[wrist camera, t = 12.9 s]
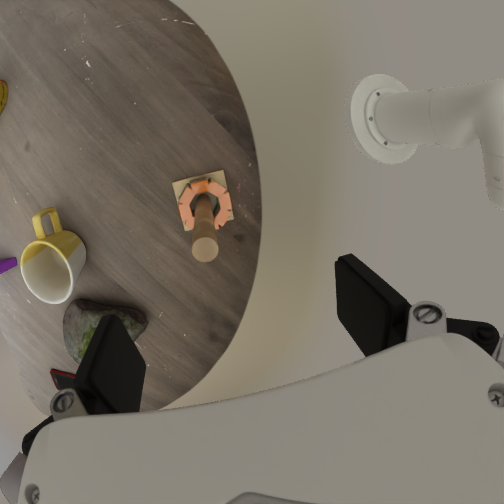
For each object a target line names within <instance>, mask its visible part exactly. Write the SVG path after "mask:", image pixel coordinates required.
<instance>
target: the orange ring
mask: <svg viewBox="0 0 504 504" xmlns="http://www.w3.org/2000/svg"><path fill="white" fill-rule="evenodd" d="M204 192H209V193H211V194H213V195H214V196H216V197H218V201H219V205H220V206H219V208H218V209H217V211H216V212H215V214H214V215H213V218H214V224H215V230H218V229H219V225H220V226H222V227H223V226H224V224H225V222H226V221H227V219H228V218H229V216H230V215H231V213H232V212H231V210H230V209H232V204H231V200H230V195H229V192H228V190H226V188H225V186H223V185H221V184H220V183H218V182H216V181H215V180H213V179H210V181H209V182H208V178H205V179H201V180H197V181H193V182H191V186H190V185H187V187H186V188H185V190H184V192H183V194H182V195H181V197H180V199H179V204H178V208H179V212H180V215H181V219H182V221H185V225H186V226H188V227H190V228H192V229H193V228H194V218H195V213H193V210H192V206H191V202H192V200H193V198H194V197H195V195H196V194H200V193H204Z"/></svg>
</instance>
